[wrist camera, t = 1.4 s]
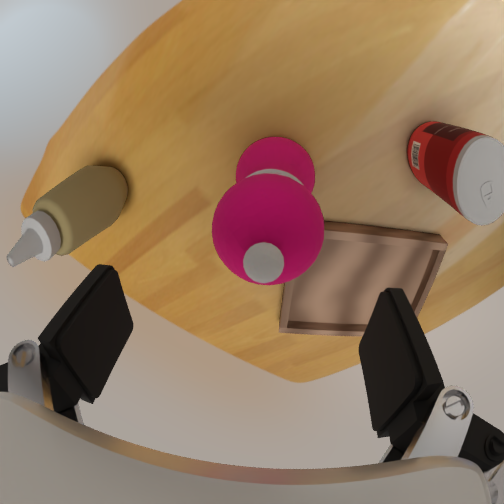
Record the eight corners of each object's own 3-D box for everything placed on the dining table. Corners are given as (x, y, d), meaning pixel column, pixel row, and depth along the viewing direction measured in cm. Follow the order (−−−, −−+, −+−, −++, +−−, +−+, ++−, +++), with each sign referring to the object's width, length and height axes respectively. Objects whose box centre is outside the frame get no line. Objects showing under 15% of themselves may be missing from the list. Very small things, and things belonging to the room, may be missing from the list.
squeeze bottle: (107, 224, 35) (23, 306, 19) (78, 177, 31) (-20, 239, 16) (147, 200, 32) (53, 287, 17) (116, 145, 29) (0, 200, 13)
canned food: (426, 198, 28) (474, 242, 18) (392, 145, 25) (441, 171, 16) (466, 162, 24) (523, 194, 15) (435, 108, 22) (496, 119, 13)
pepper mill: (322, 177, 28) (373, 299, 11) (266, 207, 31) (239, 350, 14) (288, 119, 26) (296, 150, 9) (230, 154, 28) (144, 245, 11)
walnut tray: (439, 234, 30) (448, 244, 27) (403, 324, 38) (407, 336, 36) (291, 217, 31) (291, 227, 29) (279, 320, 39) (278, 332, 37)
